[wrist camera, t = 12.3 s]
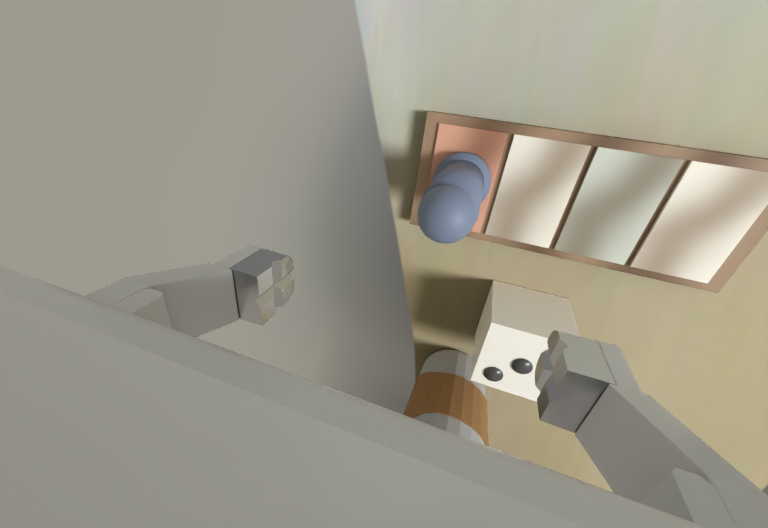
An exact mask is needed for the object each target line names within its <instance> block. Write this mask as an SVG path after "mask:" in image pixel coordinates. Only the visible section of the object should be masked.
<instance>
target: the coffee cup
mask: <svg viewBox="0 0 768 528" xmlns="http://www.w3.org/2000/svg"><path fill="white" fill-rule="evenodd" d="M472 361H473V358H472V357H471V356H469V355H467V354H466V353H463V352H460V351H457V350H441V351H437V352H435V353H433V354H432V355H431V356H429V357H428V358H427V359H426V361H425V362H424V365H423V367H422V370H421V372H420V375H419V377H418V378H417V380H416V383H415V386H414V388H413V391H412V393H411V396H410V398H409V401H408V404H407V406H406V409H405V411H404V414H403V415H405V416H408V417H411V418H413V419H416V420H419V421H421V422H424V423H427V424H429V425H432V426H435V427H438V428H440V429H443V430H446V431H448V432H451V433H454V434H456V435H459V436H462V437H464V438H467V439H470V440H472V441H475V442H478V443H481V444H483V445H486V446H488V421H487V401H486V391H485V385H484V384H481V383H478V382H475V381H472V380H470V379H471V370H472Z"/></svg>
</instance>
